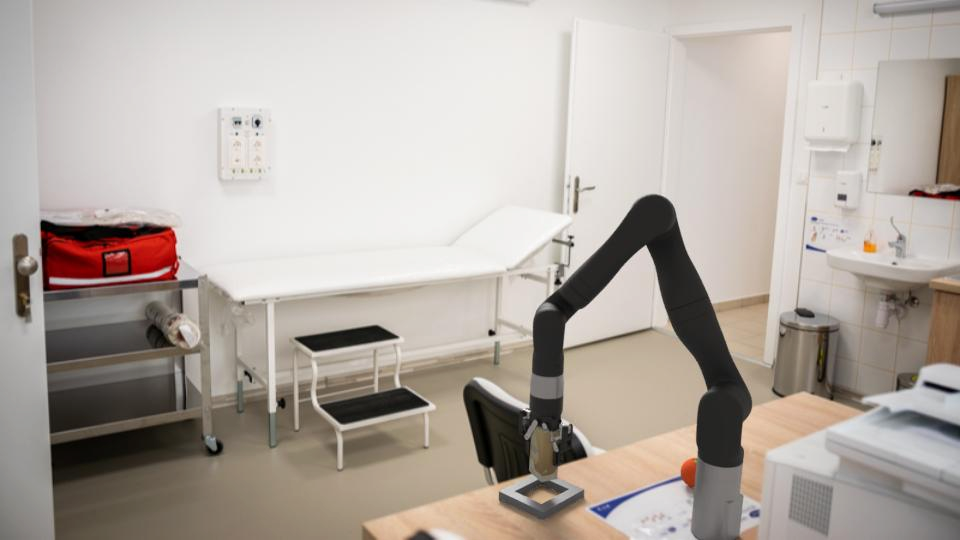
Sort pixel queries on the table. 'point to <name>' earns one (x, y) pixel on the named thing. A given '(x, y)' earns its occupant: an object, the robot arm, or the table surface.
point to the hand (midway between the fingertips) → (543, 459)
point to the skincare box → (542, 455)
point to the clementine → (689, 472)
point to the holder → (548, 508)
